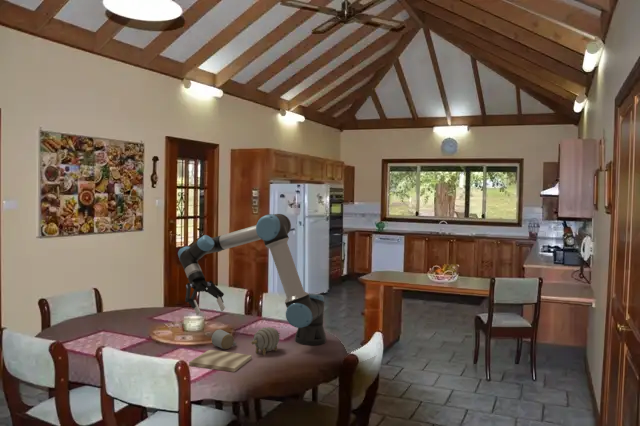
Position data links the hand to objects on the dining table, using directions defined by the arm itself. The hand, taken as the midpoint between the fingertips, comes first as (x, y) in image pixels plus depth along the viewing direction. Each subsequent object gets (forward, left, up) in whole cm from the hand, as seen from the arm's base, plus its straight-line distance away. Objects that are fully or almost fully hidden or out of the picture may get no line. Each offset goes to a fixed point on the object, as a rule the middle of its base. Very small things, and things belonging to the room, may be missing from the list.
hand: (211, 311), depth 253 cm
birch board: (-17, +24, -14) cm, 33 cm away
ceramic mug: (-10, +4, -15) cm, 18 cm away
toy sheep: (-29, +4, -15) cm, 33 cm away
